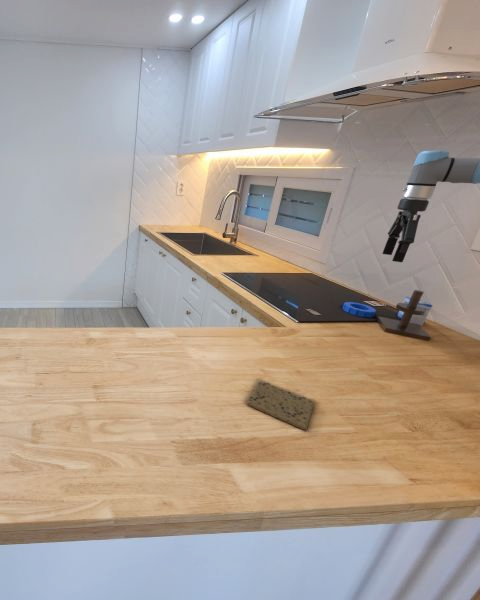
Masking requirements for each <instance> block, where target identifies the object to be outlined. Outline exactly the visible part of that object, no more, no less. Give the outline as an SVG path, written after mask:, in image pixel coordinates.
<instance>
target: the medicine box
mask: <svg viewBox="0 0 480 600" xmlns="http://www.w3.org/2000/svg"><path fill="white" fill-rule="evenodd" d="M410 298H411V296H409V295H408V296H406V297H405V298H404V301H403V303H407V304H408V303H409V301H410ZM417 306H419V307H422V308H424V309H425V310H426V312H425V314H424V315H414V314H413V316H412V318H411V320H410V322H409V323H414V324H419V325H420V326H421V327H422V326H423V325H424V323H425V321H426V320H427V317H428V315H429V313H430V312H431V310H432V308H433V305H432V304H431V303H429V302H427V301H425V300H423V299H422V298H421V299H420V301H419V303H418V305H417ZM403 314H404V312H402V311H400V310H398V313H397V317H398V318H399V319H401V318H402V316H403Z"/></svg>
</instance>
